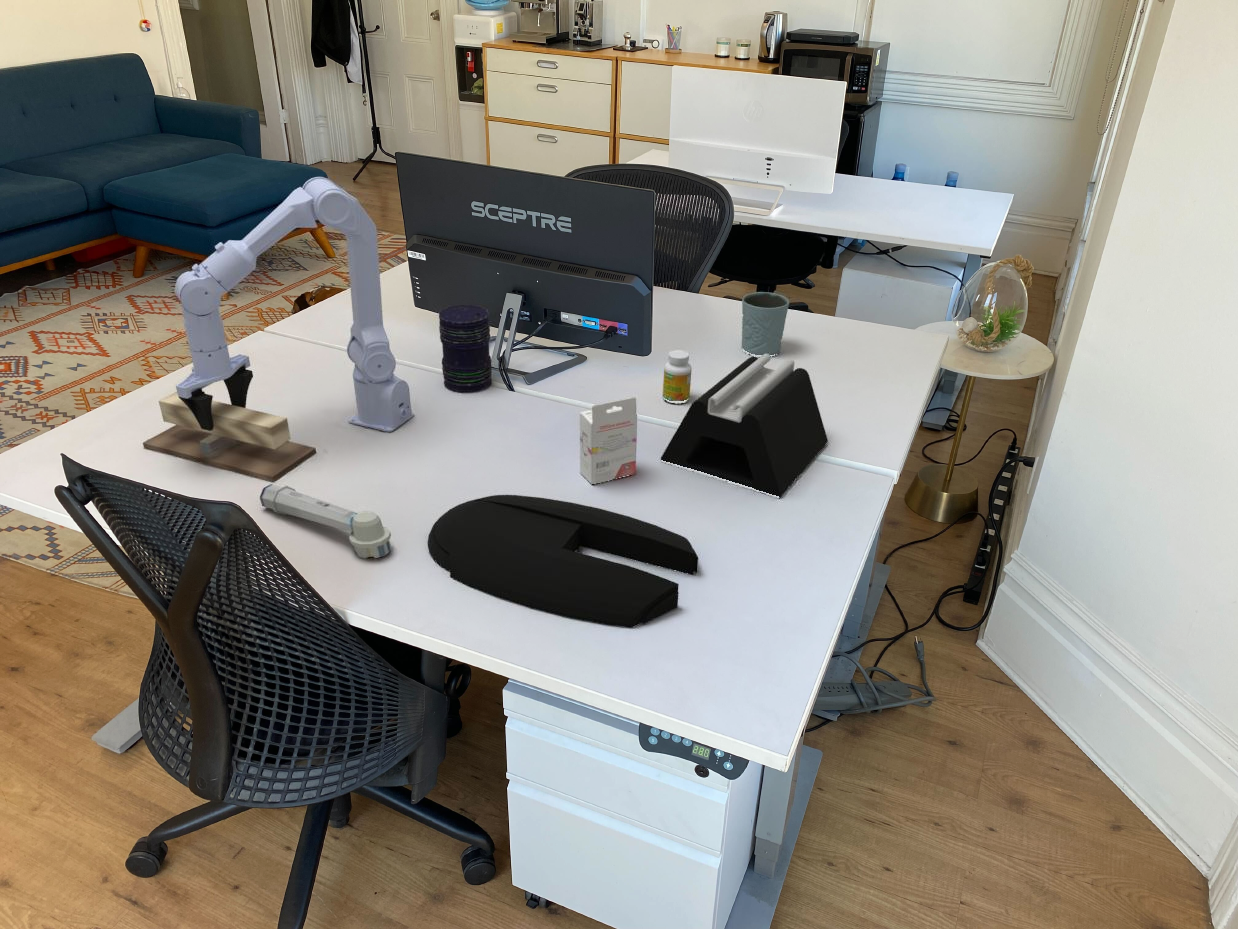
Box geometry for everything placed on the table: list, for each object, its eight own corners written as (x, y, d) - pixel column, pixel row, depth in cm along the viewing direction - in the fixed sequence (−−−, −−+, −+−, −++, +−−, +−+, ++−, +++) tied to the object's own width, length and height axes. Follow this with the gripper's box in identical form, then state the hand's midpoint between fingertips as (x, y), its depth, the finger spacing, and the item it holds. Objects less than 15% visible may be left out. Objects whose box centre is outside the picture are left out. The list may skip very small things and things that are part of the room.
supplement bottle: (658, 402, 182) (661, 356, 177) (667, 391, 186) (670, 346, 181) (684, 407, 180) (687, 361, 175) (692, 396, 184) (696, 351, 180)
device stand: (827, 446, 168) (838, 370, 161) (780, 500, 151) (790, 419, 144) (716, 415, 178) (722, 343, 171) (660, 463, 161) (664, 385, 154)
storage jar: (436, 391, 183) (430, 320, 176) (451, 371, 192) (447, 303, 184) (484, 395, 182) (481, 324, 175) (498, 375, 191) (495, 307, 183)
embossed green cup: (784, 344, 209) (790, 294, 204) (781, 361, 201) (787, 309, 195) (740, 340, 211) (745, 289, 205) (735, 356, 203) (739, 304, 197)
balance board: (316, 452, 160) (315, 447, 160) (273, 482, 151) (272, 476, 151) (191, 421, 169) (190, 417, 169) (143, 447, 160) (142, 442, 160)
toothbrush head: (280, 477, 146) (392, 506, 133) (290, 513, 149) (401, 546, 136) (252, 491, 142) (365, 522, 129) (264, 528, 145) (375, 563, 132)
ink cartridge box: (622, 462, 160) (625, 385, 153) (636, 475, 156) (639, 397, 149) (578, 472, 157) (578, 394, 149) (591, 486, 153) (592, 407, 146)
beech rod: (290, 438, 156) (287, 417, 154) (274, 449, 153) (270, 427, 151) (181, 412, 164) (176, 391, 162) (163, 421, 160) (158, 400, 158)
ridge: (253, 434, 163) (250, 419, 162) (212, 459, 155) (209, 443, 154) (244, 432, 164) (241, 417, 163) (203, 456, 156) (199, 441, 155)
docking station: (478, 489, 152) (476, 463, 150) (712, 547, 139) (715, 519, 137) (391, 571, 132) (388, 542, 129) (657, 647, 119) (659, 616, 117)
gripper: (221, 327, 158) (235, 398, 164) (154, 357, 146) (173, 432, 153) (254, 333, 155) (267, 406, 162) (189, 364, 144) (206, 441, 150)
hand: (223, 419), depth 157 cm, fingers open, 7 cm apart
